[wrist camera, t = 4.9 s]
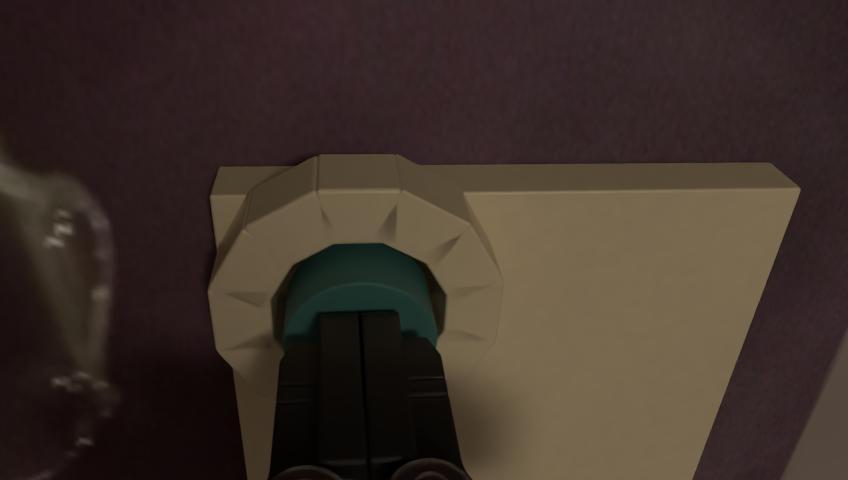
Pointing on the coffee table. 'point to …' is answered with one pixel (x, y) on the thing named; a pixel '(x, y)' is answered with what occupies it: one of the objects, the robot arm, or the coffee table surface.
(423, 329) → the button
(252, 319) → the button board
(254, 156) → the coffee table surface
